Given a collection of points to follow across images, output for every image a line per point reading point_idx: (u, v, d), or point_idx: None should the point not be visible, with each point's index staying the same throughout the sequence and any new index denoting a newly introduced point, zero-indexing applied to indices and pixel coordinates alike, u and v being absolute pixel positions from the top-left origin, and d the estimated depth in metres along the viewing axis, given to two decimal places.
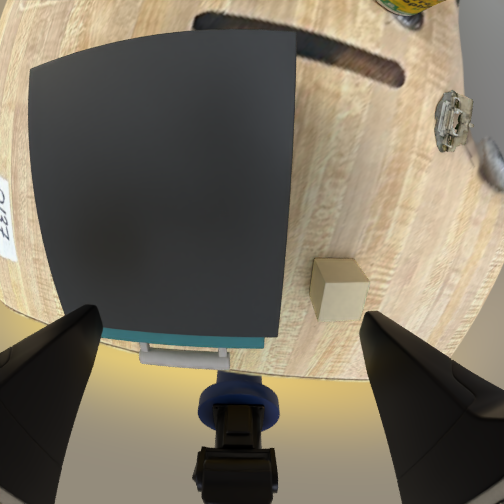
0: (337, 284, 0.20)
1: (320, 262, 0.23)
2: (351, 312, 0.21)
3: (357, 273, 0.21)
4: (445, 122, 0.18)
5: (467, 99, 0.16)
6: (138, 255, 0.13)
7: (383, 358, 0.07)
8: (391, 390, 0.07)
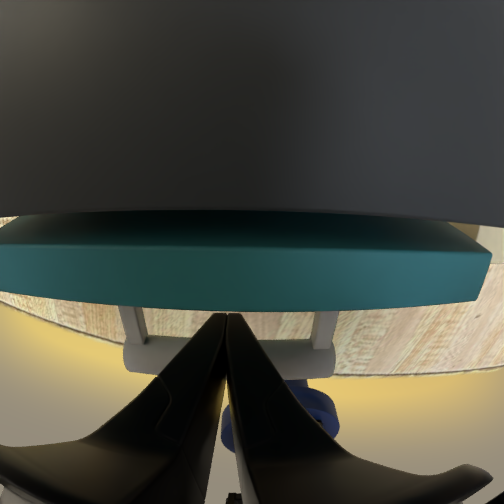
0: None
1: None
2: None
3: None
4: None
5: None
6: None
7: (226, 365, 0.07)
8: (229, 402, 0.07)
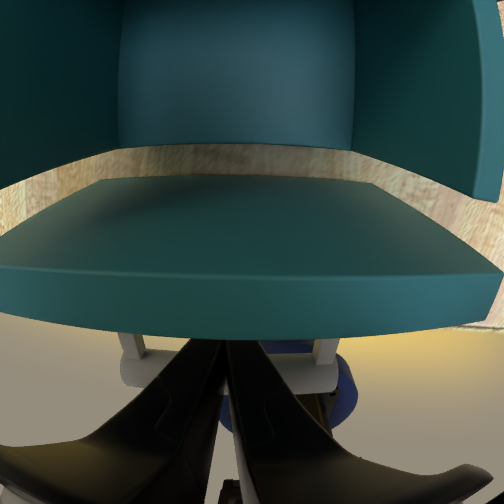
0: None
1: None
2: None
3: None
4: None
5: None
6: None
7: (226, 365, 0.07)
8: (230, 402, 0.07)
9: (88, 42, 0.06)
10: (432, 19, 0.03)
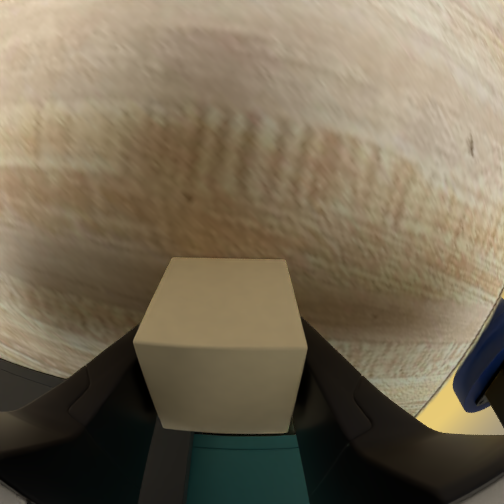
0: (161, 412, 0.07)
1: None
2: (262, 379, 0.06)
3: None
4: None
5: None
6: None
7: None
8: (298, 401, 0.07)
9: None
10: None
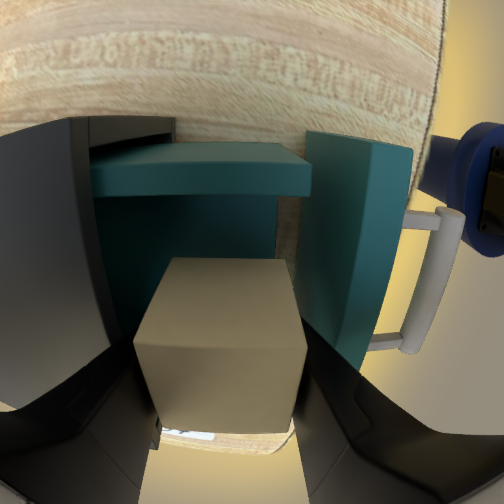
0: (161, 412, 0.07)
1: None
2: (262, 379, 0.06)
3: None
4: None
5: None
6: (12, 342, 0.07)
7: None
8: (298, 401, 0.07)
9: None
10: None
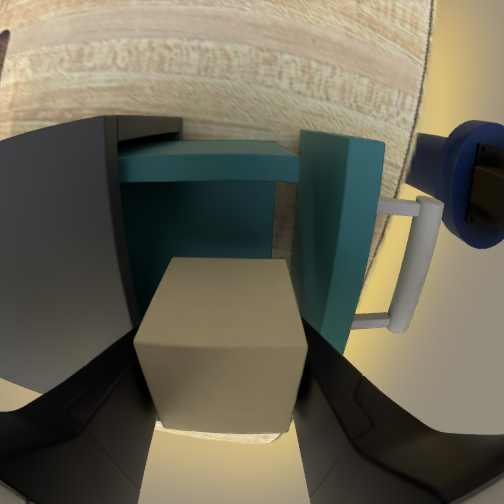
0: (161, 412, 0.07)
1: None
2: (263, 379, 0.06)
3: None
4: None
5: None
6: (33, 316, 0.09)
7: None
8: (299, 401, 0.07)
9: None
10: None
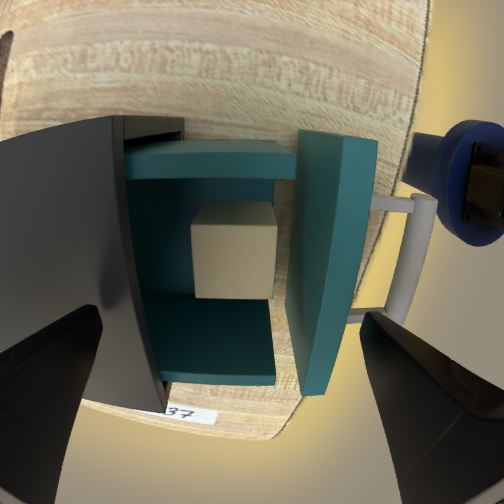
0: (197, 280, 0.13)
1: None
2: (256, 247, 0.12)
3: None
4: None
5: None
6: (39, 309, 0.09)
7: (383, 358, 0.07)
8: (391, 390, 0.07)
9: (204, 318, 0.16)
10: None
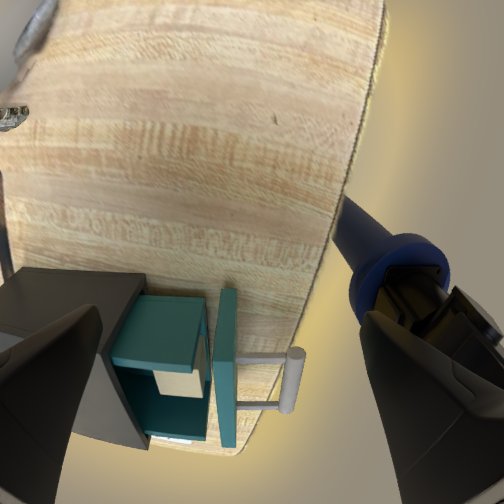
0: (159, 387, 0.21)
1: None
2: (188, 377, 0.20)
3: None
4: (7, 120, 0.16)
5: None
6: None
7: (383, 358, 0.07)
8: (391, 390, 0.07)
9: (169, 396, 0.23)
10: None
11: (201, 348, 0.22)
